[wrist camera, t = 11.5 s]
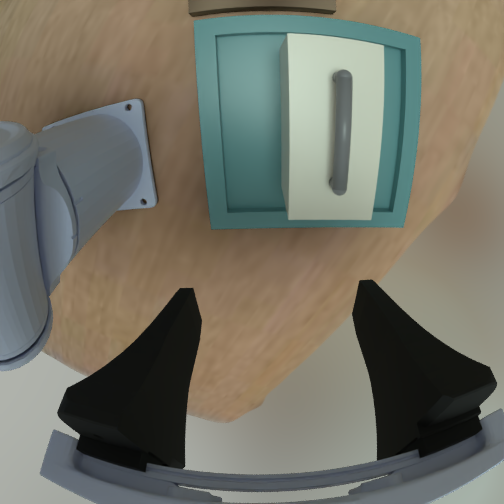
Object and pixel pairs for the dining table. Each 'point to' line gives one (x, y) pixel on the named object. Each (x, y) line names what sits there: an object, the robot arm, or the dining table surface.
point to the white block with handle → (330, 126)
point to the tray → (269, 118)
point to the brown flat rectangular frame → (260, 6)
